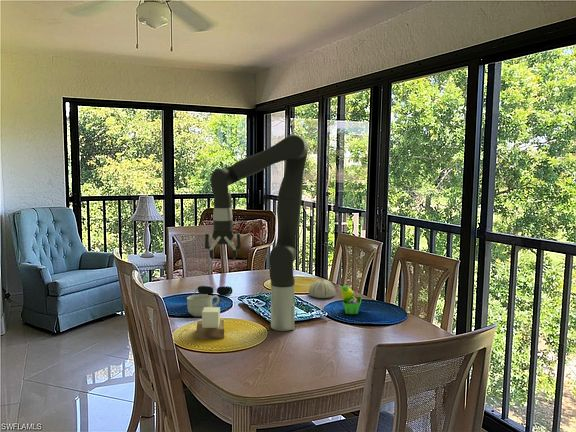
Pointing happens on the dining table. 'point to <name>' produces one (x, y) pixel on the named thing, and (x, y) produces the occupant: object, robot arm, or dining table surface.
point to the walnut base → (210, 331)
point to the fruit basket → (350, 301)
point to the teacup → (200, 303)
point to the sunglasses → (220, 290)
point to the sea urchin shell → (322, 289)
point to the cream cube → (211, 317)
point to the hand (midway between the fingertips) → (223, 259)
